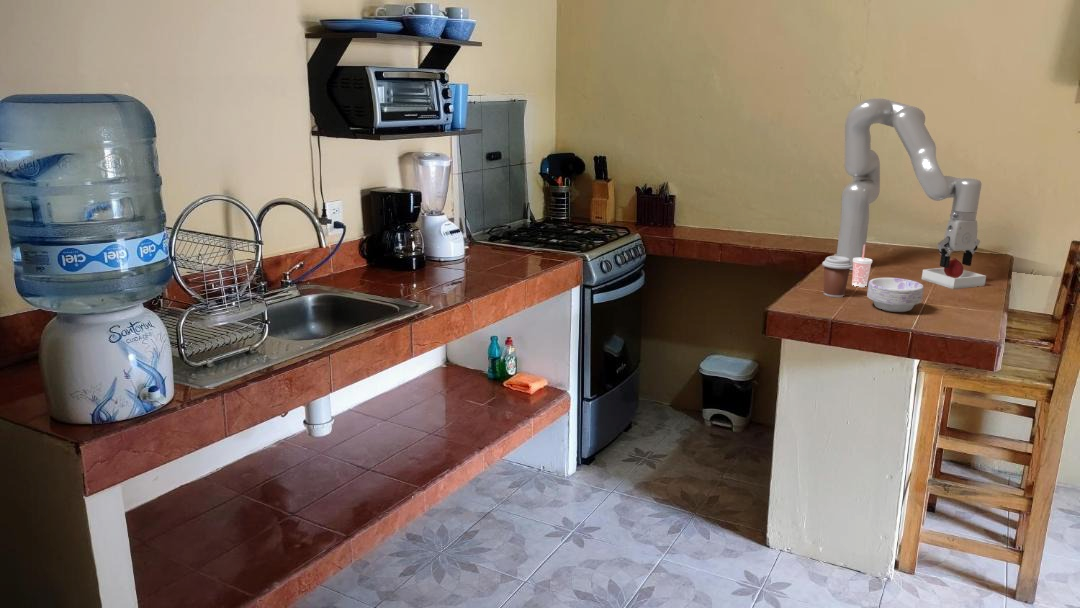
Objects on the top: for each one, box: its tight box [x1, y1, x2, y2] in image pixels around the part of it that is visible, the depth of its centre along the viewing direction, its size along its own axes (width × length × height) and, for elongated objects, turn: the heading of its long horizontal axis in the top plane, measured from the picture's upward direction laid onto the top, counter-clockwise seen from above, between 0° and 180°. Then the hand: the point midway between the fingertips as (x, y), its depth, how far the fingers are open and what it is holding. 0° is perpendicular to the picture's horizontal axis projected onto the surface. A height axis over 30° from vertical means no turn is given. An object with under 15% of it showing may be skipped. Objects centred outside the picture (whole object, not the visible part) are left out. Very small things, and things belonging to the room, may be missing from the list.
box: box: [921, 267, 987, 290], centre depth 264 cm, size 14×14×4 cm
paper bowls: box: [866, 277, 925, 313], centre depth 233 cm, size 15×15×8 cm
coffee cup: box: [821, 255, 853, 298], centre depth 247 cm, size 9×9×12 cm
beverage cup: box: [851, 245, 873, 288], centre depth 258 cm, size 6×6×14 cm
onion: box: [943, 256, 965, 278], centre depth 263 cm, size 6×6×8 cm
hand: (955, 266), depth 263 cm, fingers open, 9 cm apart
